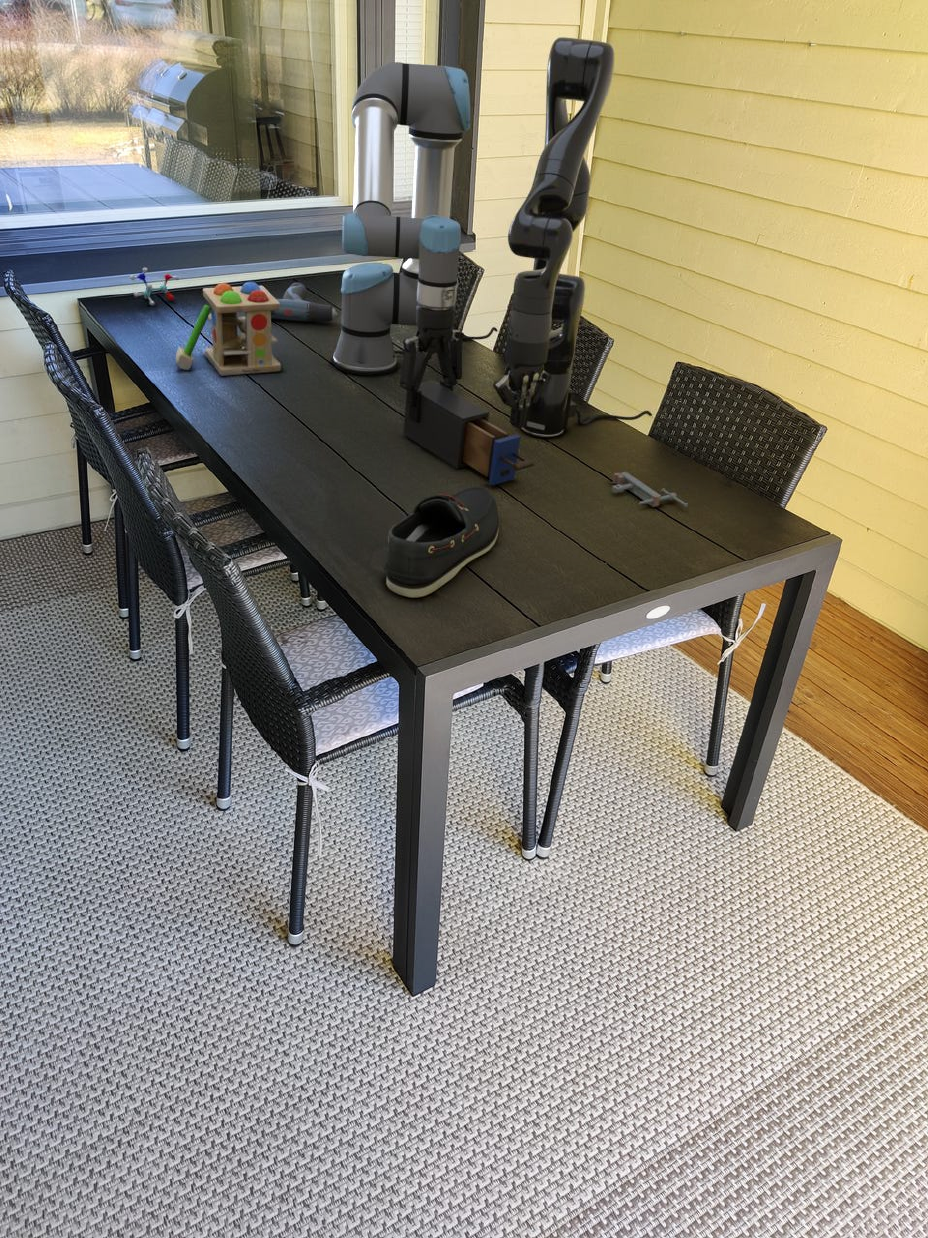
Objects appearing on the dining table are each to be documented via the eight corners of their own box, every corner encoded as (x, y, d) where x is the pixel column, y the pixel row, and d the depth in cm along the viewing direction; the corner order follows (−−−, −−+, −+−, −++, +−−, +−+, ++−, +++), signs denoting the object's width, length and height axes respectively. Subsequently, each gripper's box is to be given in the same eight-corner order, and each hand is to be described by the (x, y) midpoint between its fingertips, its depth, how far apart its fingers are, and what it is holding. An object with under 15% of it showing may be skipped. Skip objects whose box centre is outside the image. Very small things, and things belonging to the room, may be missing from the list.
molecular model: (162, 296, 256) (148, 259, 255) (134, 310, 260) (120, 273, 259) (187, 299, 267) (174, 263, 265) (160, 312, 270) (147, 276, 269)
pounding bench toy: (183, 379, 220) (176, 299, 210) (169, 357, 231) (162, 280, 221) (282, 371, 230) (280, 294, 220) (264, 350, 240) (262, 276, 230)
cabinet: (483, 461, 198) (489, 411, 192) (457, 469, 195) (462, 418, 188) (429, 428, 209) (433, 379, 203) (403, 434, 205) (406, 385, 199)
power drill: (344, 304, 276) (335, 327, 259) (277, 298, 275) (264, 321, 258) (344, 285, 273) (335, 306, 256) (277, 279, 272) (264, 300, 255)
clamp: (601, 475, 192) (641, 467, 197) (599, 485, 194) (639, 477, 198) (649, 509, 182) (690, 500, 186) (647, 519, 183) (688, 510, 188)
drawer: (532, 489, 189) (539, 447, 183) (510, 496, 185) (517, 453, 180) (460, 445, 202) (464, 404, 196) (438, 450, 198) (442, 409, 193)
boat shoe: (525, 530, 177) (530, 477, 171) (421, 604, 153) (423, 545, 147) (465, 510, 182) (468, 458, 177) (355, 579, 158) (355, 521, 153)
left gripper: (406, 317, 181) (401, 432, 194) (487, 303, 193) (477, 413, 205) (383, 305, 186) (379, 419, 199) (462, 293, 197) (454, 401, 210)
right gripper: (515, 346, 166) (504, 440, 176) (570, 335, 174) (556, 426, 184) (486, 333, 171) (477, 425, 181) (541, 322, 178) (529, 412, 188)
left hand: (428, 416), depth 202 cm, fingers closed on cabinet, 7 cm apart
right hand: (517, 425), depth 182 cm, fingers closed
